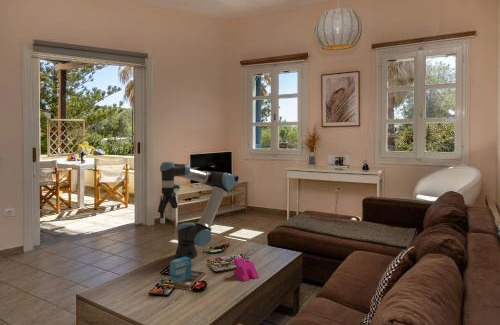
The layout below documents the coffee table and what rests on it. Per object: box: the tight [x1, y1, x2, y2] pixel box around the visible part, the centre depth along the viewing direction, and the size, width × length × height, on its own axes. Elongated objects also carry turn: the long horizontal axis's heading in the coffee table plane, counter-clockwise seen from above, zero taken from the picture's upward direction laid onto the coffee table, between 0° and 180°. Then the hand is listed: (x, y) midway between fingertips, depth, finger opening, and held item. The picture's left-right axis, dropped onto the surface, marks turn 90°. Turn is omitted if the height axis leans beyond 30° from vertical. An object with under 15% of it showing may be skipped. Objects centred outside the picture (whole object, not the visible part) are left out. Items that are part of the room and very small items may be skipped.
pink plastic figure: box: [233, 256, 260, 282], centre depth 230 cm, size 12×10×10 cm
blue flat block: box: [169, 257, 192, 283], centre depth 217 cm, size 12×4×12 cm, turn 137°
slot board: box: [162, 269, 208, 291], centre depth 222 cm, size 22×18×3 cm
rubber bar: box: [191, 273, 200, 278], centre depth 227 cm, size 4×12×2 cm, turn 72°
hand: (168, 220), depth 237 cm, fingers open, 13 cm apart
